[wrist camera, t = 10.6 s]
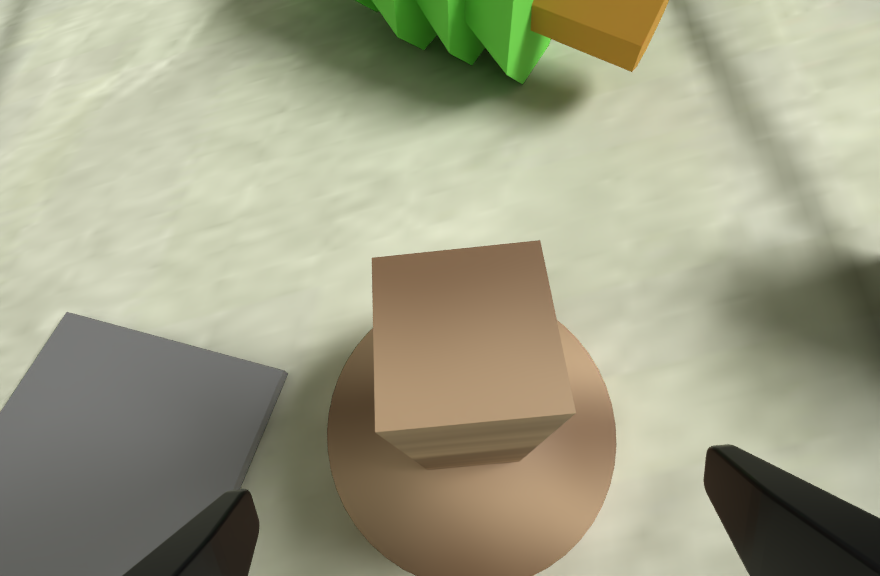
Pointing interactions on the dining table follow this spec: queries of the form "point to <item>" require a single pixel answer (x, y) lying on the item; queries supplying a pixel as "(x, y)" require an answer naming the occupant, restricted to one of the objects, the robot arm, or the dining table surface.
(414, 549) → the walnut lid
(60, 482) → the rubber mat
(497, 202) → the dining table surface
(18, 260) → the dining table surface
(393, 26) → the decorative tree
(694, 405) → the dining table surface
